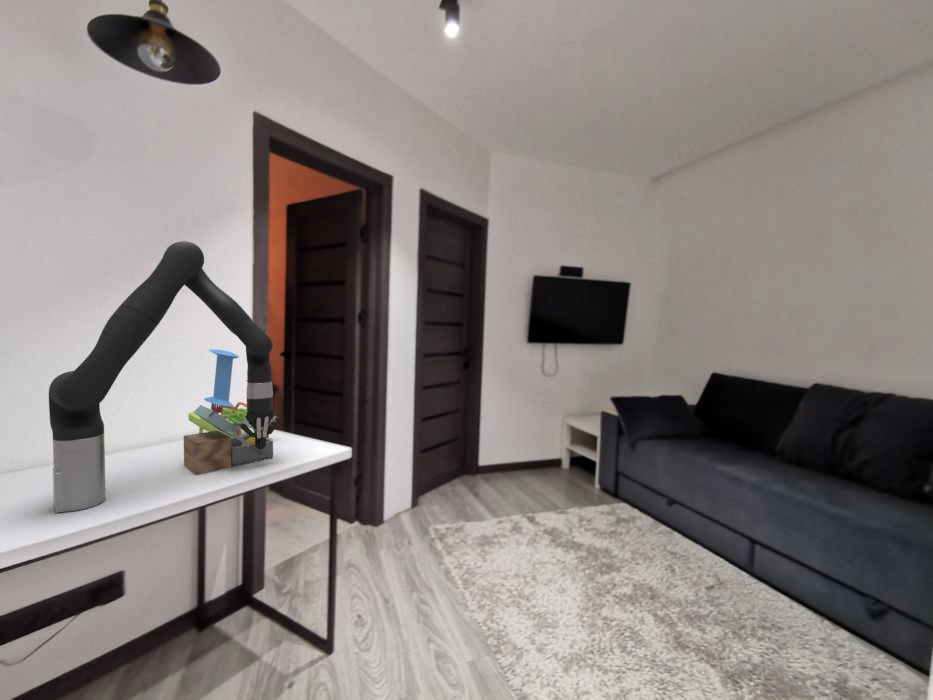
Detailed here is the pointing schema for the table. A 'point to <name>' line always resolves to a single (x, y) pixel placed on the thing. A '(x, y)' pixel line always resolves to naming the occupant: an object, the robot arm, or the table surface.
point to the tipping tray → (223, 425)
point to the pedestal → (207, 452)
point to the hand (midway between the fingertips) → (260, 448)
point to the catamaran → (222, 395)
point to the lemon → (250, 440)
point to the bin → (248, 452)
